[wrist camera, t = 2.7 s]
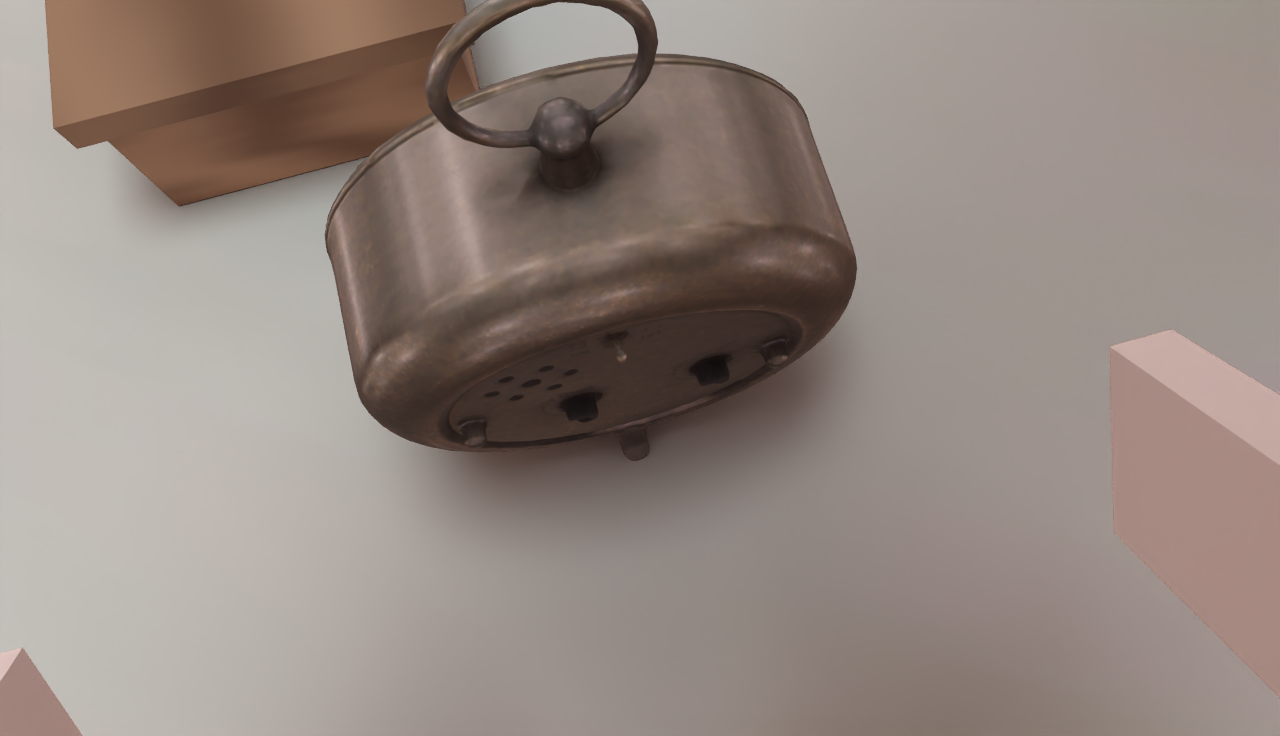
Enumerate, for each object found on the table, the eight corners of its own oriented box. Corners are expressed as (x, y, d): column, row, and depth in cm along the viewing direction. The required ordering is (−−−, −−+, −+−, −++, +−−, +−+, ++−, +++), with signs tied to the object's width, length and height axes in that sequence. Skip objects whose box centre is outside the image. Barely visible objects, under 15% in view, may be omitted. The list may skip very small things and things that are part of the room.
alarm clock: (781, 251, 29) (863, -264, 13) (840, 423, 27) (1013, 57, 11) (419, 349, 28) (76, -59, 13) (455, 528, 27) (105, 300, 11)
